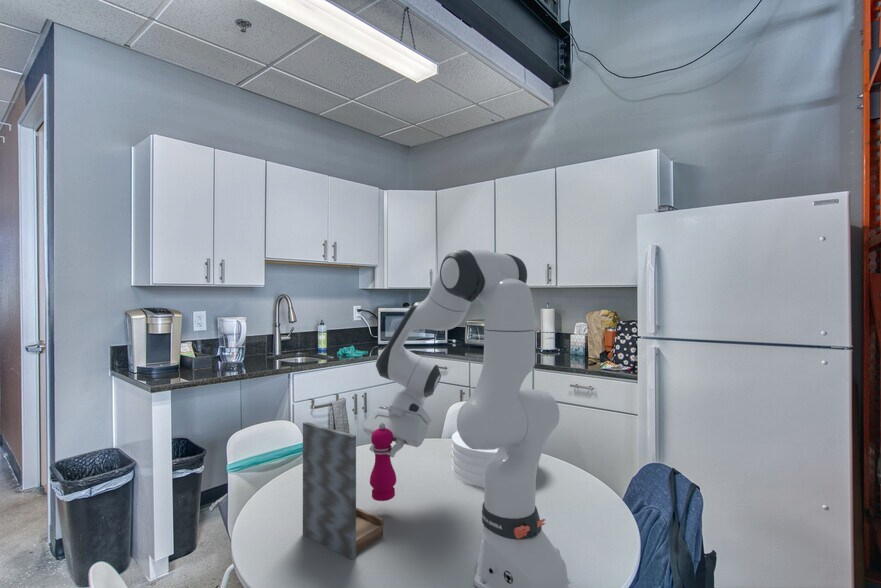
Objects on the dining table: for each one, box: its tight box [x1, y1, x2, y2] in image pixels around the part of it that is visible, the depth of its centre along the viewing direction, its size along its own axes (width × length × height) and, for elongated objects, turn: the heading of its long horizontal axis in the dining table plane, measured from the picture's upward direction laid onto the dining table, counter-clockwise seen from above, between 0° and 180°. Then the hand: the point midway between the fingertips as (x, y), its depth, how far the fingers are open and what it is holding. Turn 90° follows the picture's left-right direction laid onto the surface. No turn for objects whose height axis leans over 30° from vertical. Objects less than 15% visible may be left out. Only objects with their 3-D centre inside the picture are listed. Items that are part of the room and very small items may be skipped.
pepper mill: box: [369, 423, 397, 502], centre depth 122 cm, size 7×7×20 cm
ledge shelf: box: [302, 421, 384, 560], centre depth 111 cm, size 18×11×28 cm, turn 54°
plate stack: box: [451, 430, 499, 489], centre depth 152 cm, size 28×28×12 cm
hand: (380, 453), depth 122 cm, fingers closed on pepper mill, 5 cm apart
